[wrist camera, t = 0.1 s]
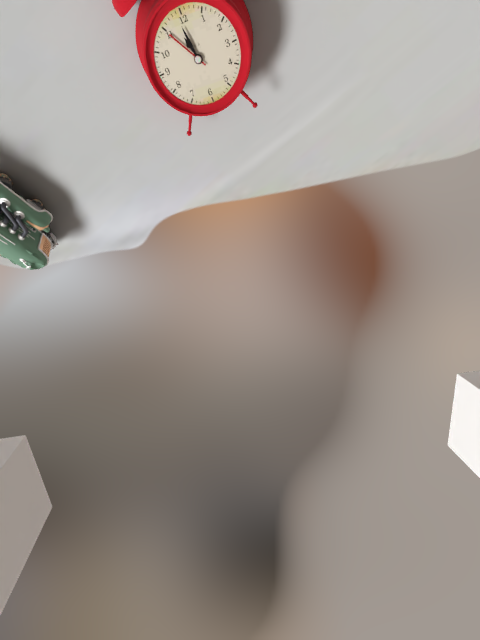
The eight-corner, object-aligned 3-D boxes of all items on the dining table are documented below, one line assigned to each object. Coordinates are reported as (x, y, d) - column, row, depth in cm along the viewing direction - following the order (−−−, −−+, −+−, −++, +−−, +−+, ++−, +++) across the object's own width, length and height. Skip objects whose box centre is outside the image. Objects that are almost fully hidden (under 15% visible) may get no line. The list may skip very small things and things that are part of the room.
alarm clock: (178, 148, 36) (73, -25, 22) (169, 106, 38) (70, -75, 25) (274, 107, 34) (224, -113, 20) (259, 65, 36) (205, -158, 23)
